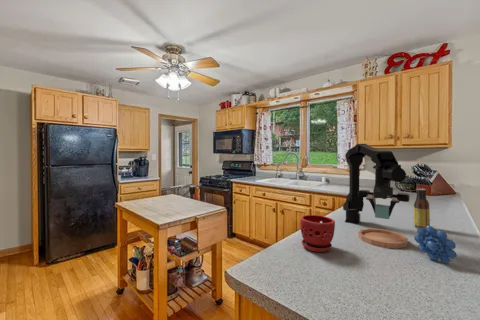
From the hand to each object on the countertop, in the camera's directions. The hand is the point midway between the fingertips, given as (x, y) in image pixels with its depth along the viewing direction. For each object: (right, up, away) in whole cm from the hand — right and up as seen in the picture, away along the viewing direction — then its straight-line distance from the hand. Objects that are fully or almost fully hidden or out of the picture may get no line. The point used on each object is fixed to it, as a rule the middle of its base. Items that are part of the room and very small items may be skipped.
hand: (382, 214), depth 99 cm
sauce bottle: (+30, -11, +16) cm, 35 cm away
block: (0, -1, 0) cm, 1 cm away
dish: (0, -11, 0) cm, 11 cm away
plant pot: (-31, -12, -8) cm, 34 cm away
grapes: (+5, -12, -20) cm, 24 cm away
